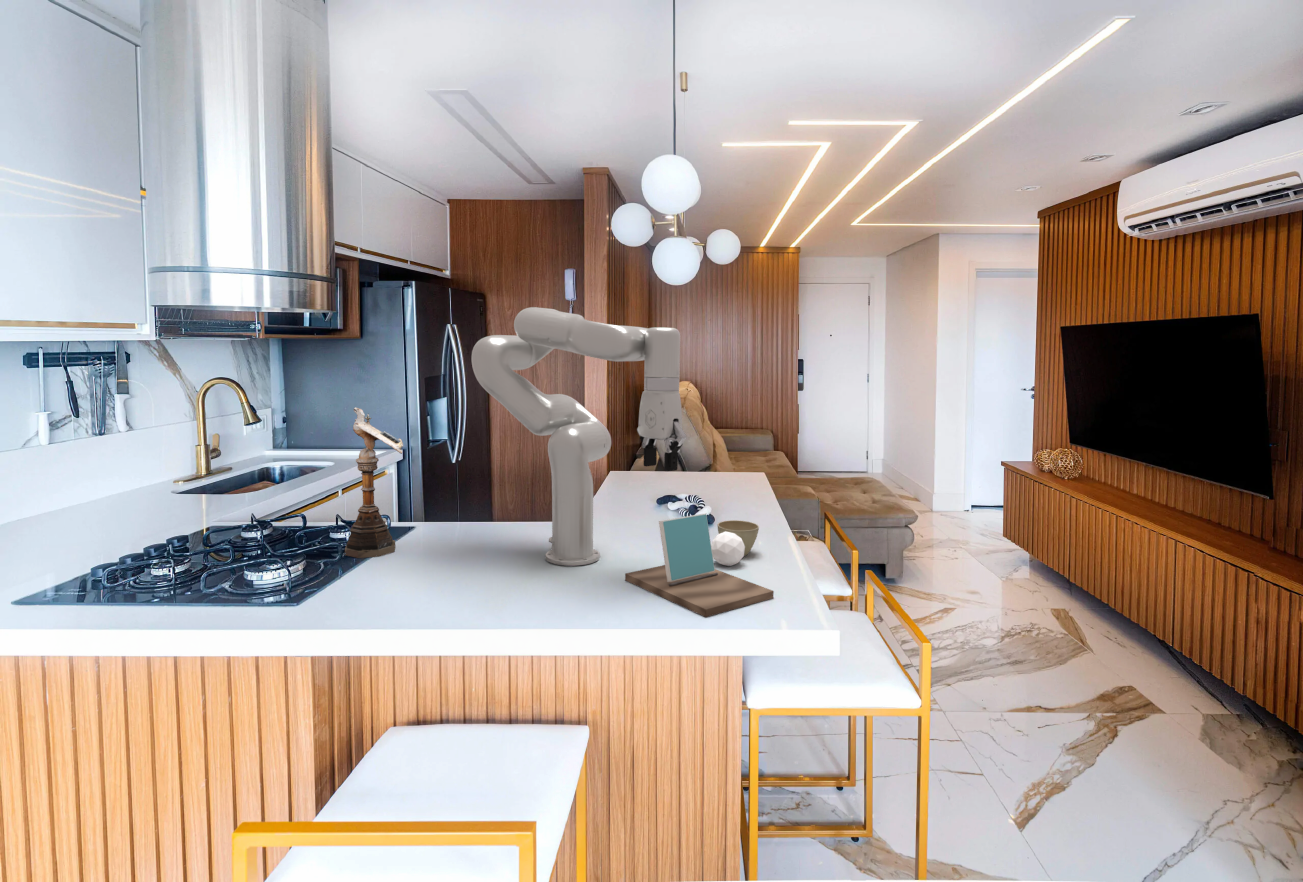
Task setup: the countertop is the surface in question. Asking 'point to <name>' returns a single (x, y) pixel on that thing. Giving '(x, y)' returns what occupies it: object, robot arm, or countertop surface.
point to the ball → (727, 548)
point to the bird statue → (370, 496)
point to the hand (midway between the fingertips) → (660, 467)
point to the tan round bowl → (741, 531)
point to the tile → (686, 547)
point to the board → (701, 590)
